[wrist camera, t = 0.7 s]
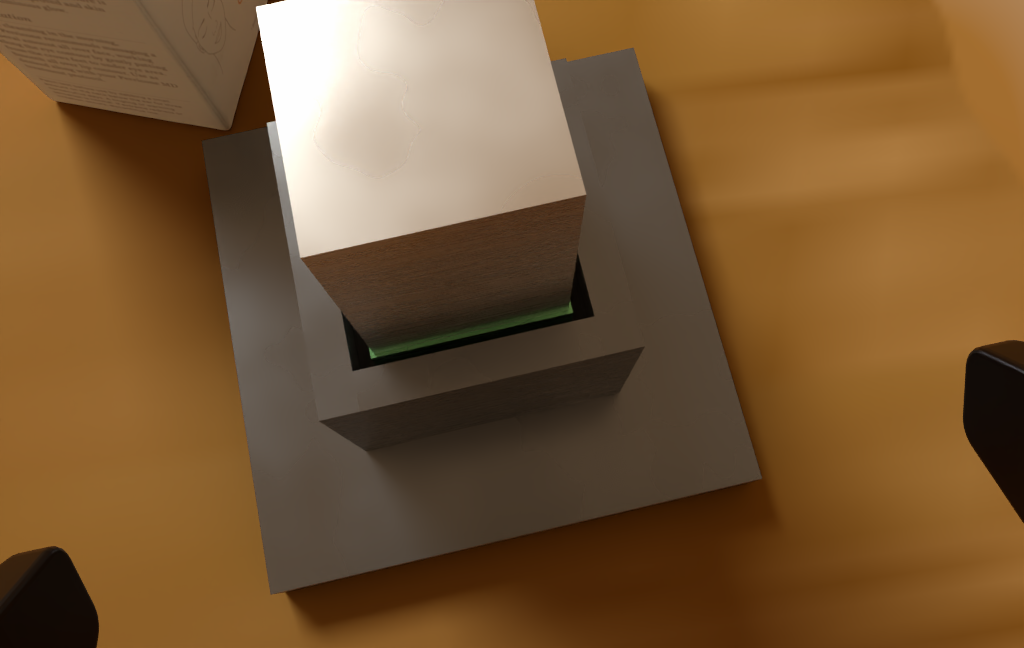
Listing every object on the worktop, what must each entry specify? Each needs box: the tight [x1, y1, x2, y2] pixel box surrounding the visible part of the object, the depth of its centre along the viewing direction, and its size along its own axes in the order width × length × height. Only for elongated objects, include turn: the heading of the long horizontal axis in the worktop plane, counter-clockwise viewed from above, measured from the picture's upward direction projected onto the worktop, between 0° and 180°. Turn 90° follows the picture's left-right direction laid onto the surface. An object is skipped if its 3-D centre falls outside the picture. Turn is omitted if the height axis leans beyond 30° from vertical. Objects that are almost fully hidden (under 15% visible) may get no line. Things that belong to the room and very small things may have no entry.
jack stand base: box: [202, 48, 762, 594], centre depth 21 cm, size 12×12×6 cm
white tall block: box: [256, 0, 586, 366], centre depth 17 cm, size 4×4×10 cm
